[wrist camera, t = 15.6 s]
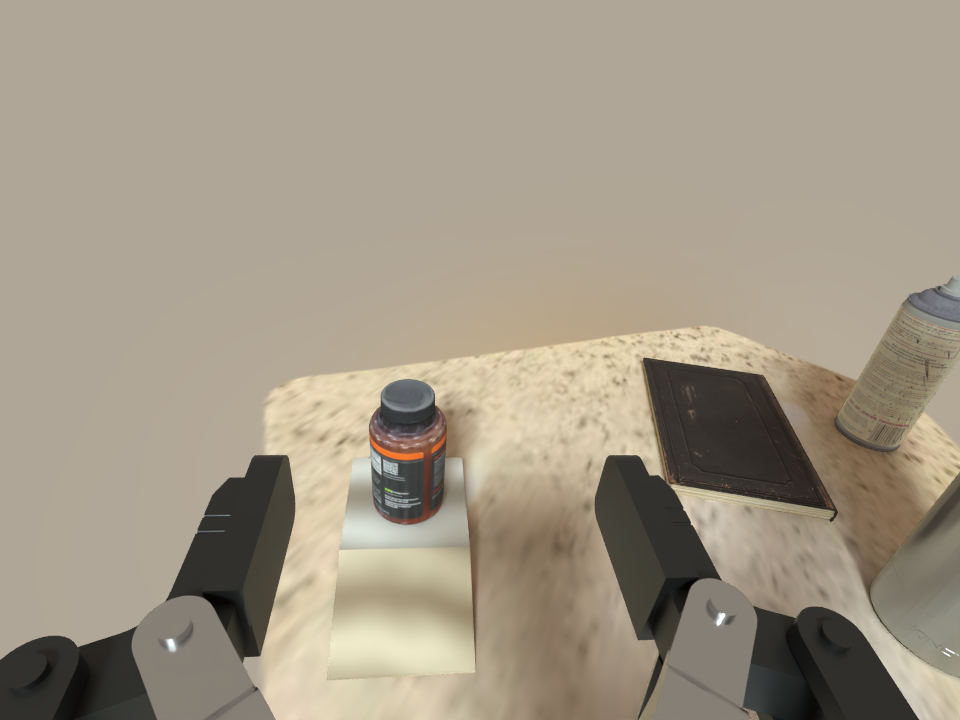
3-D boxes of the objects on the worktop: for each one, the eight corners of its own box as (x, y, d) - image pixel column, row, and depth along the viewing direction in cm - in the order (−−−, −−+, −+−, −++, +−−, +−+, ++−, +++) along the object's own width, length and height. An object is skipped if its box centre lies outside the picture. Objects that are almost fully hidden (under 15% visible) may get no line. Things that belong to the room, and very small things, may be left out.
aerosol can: (913, 446, 62) (1022, 292, 51) (871, 455, 60) (975, 296, 49) (861, 410, 67) (951, 264, 56) (821, 418, 65) (906, 267, 54)
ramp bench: (474, 680, 37) (479, 648, 35) (328, 688, 36) (323, 656, 34) (459, 488, 52) (461, 457, 50) (355, 489, 51) (353, 457, 49)
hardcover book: (663, 497, 53) (669, 481, 51) (639, 371, 72) (643, 357, 70) (830, 525, 51) (841, 509, 50) (760, 389, 70) (767, 375, 69)
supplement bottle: (439, 472, 48) (445, 369, 42) (447, 525, 43) (455, 417, 37) (372, 477, 47) (367, 371, 41) (372, 531, 42) (367, 421, 36)
